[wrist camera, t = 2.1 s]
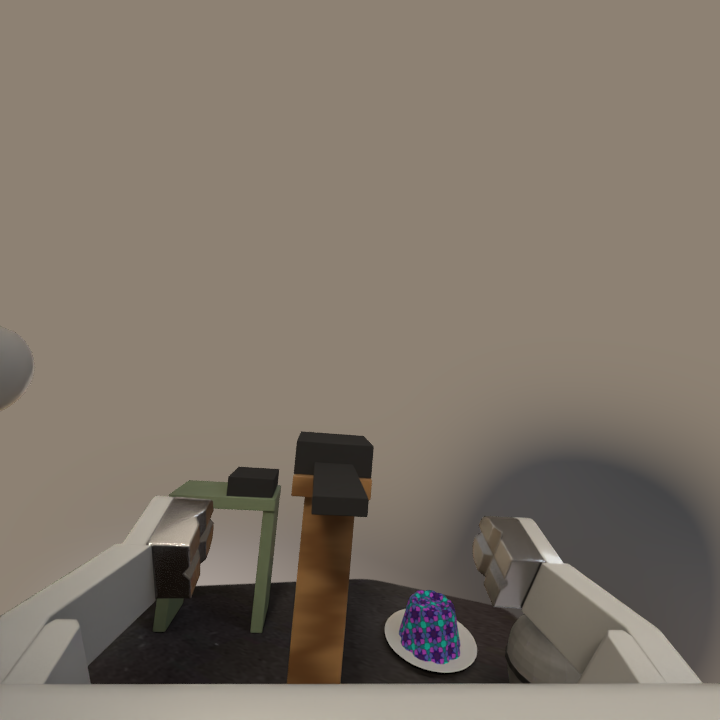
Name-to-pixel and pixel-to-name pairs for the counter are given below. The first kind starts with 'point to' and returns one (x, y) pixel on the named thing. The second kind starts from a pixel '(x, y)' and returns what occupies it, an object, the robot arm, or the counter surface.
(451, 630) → the pudding
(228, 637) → the counter surface
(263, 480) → the black block
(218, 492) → the low bench
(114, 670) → the counter surface
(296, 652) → the tall stand
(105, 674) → the counter surface
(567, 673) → the beverage cup
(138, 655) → the counter surface
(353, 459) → the black pad
